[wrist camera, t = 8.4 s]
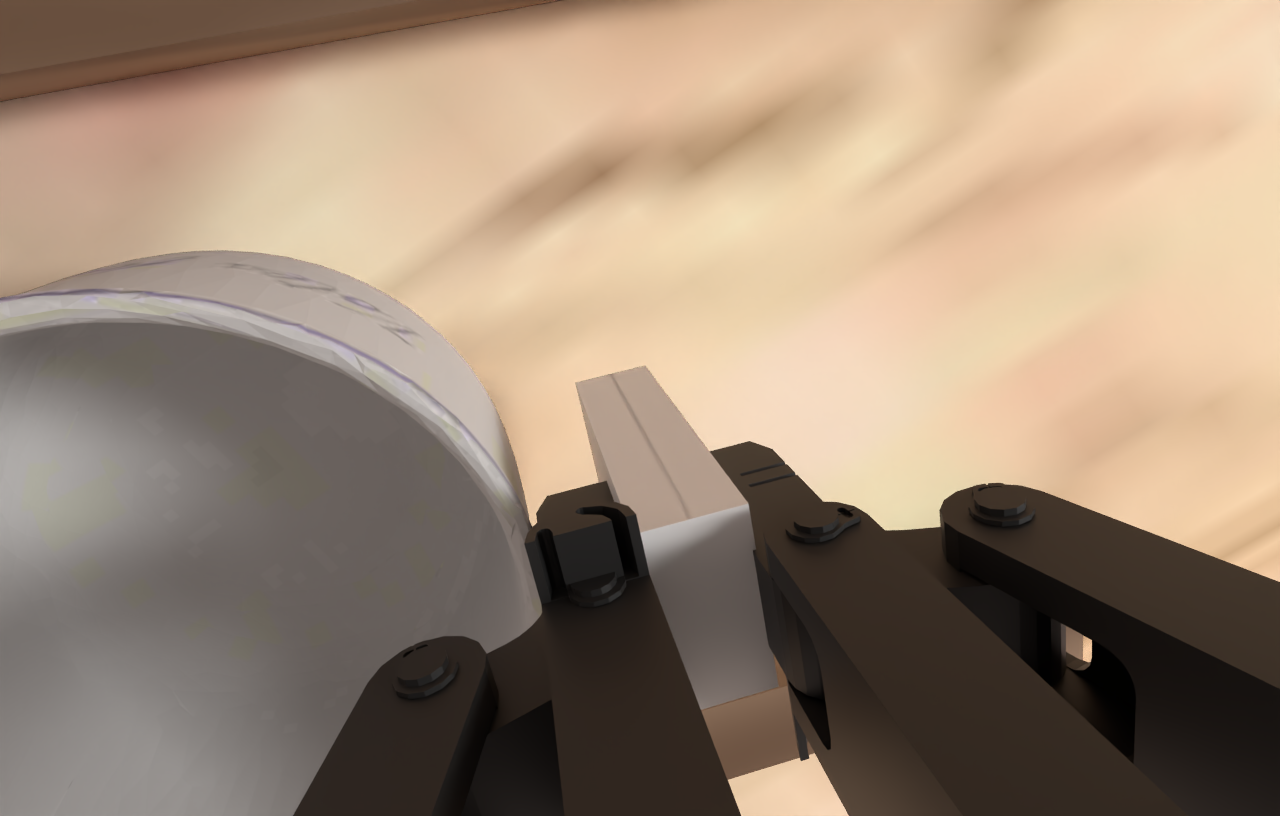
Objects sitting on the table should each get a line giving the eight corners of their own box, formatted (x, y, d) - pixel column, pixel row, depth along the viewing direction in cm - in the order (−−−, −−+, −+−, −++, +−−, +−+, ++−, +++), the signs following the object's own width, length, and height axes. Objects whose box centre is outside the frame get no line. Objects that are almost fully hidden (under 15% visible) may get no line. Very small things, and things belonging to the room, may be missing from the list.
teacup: (459, 181, 17) (435, 199, 9) (574, 595, 20) (624, 848, 13) (-231, 335, 15) (-924, 505, 8) (28, 751, 19) (-274, 1138, 11)
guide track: (-784, 56, 13) (-1534, -6, 8) (1006, -226, 16) (1215, -381, 12) (-99, 960, 20) (-279, 1204, 15) (1024, 628, 24) (1155, 743, 19)
